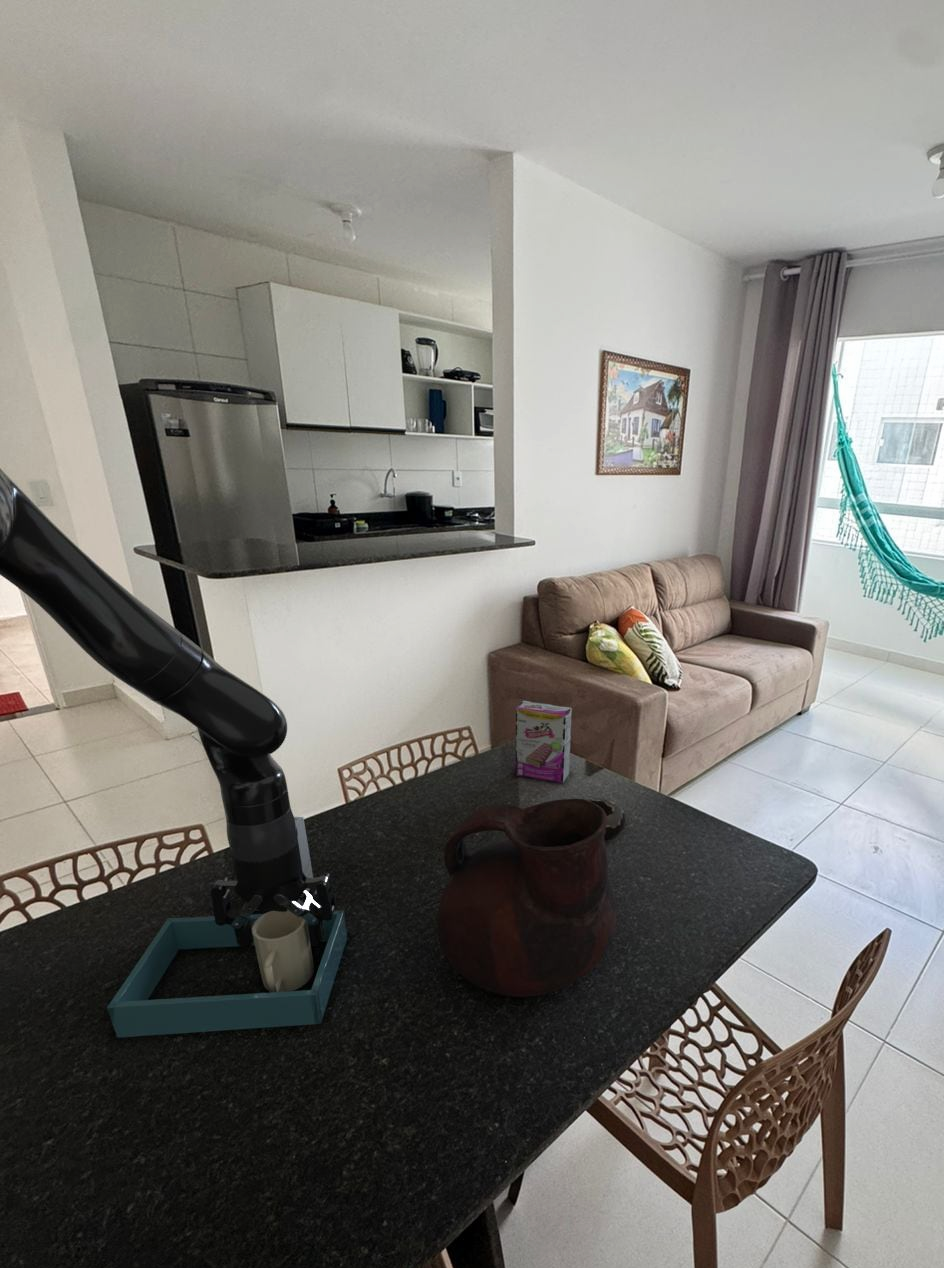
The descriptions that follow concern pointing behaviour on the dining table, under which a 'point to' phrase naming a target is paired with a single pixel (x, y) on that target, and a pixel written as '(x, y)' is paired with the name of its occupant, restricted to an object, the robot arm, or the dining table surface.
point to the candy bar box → (543, 741)
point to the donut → (611, 816)
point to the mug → (283, 951)
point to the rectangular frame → (217, 1012)
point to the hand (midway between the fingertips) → (283, 943)
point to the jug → (528, 897)
